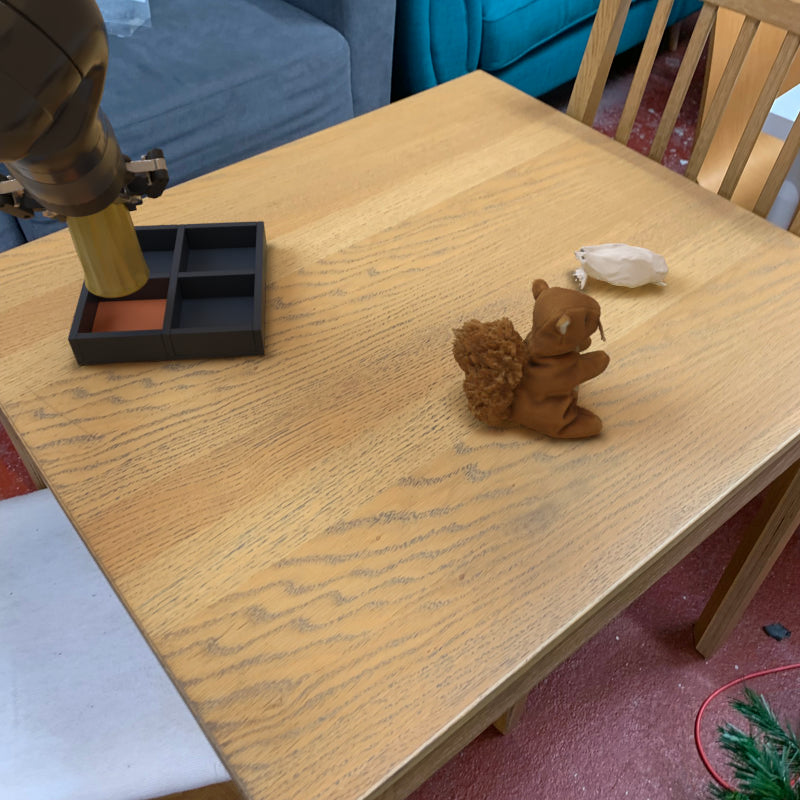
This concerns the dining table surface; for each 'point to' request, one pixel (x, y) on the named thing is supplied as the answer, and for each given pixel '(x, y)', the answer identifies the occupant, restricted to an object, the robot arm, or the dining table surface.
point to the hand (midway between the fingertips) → (96, 205)
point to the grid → (182, 299)
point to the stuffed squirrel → (534, 365)
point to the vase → (109, 252)
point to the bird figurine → (621, 265)
